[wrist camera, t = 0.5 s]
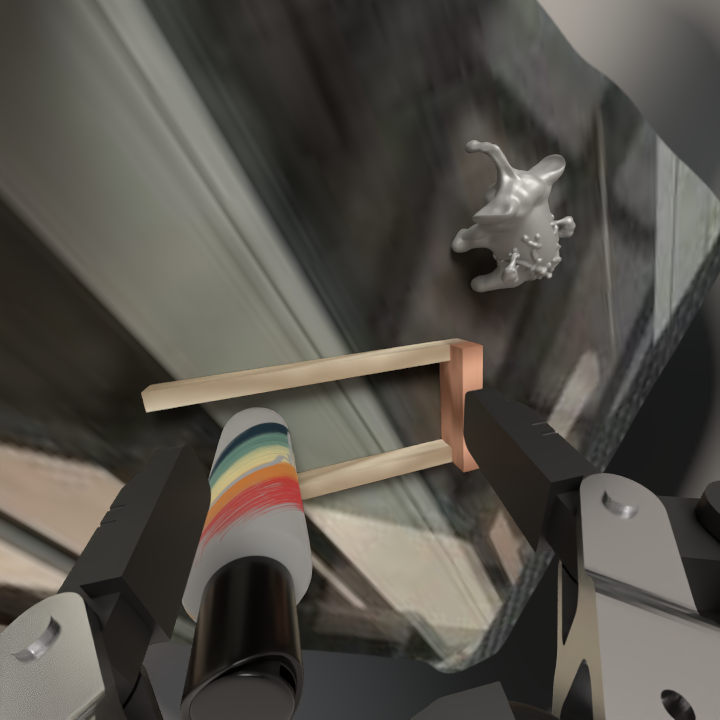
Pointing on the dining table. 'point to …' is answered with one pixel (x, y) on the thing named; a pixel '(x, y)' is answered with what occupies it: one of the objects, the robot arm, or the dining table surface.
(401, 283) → the dining table surface
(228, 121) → the dining table surface
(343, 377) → the guide lane
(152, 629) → the robot arm
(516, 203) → the elephant statuette
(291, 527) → the lotion bottle
